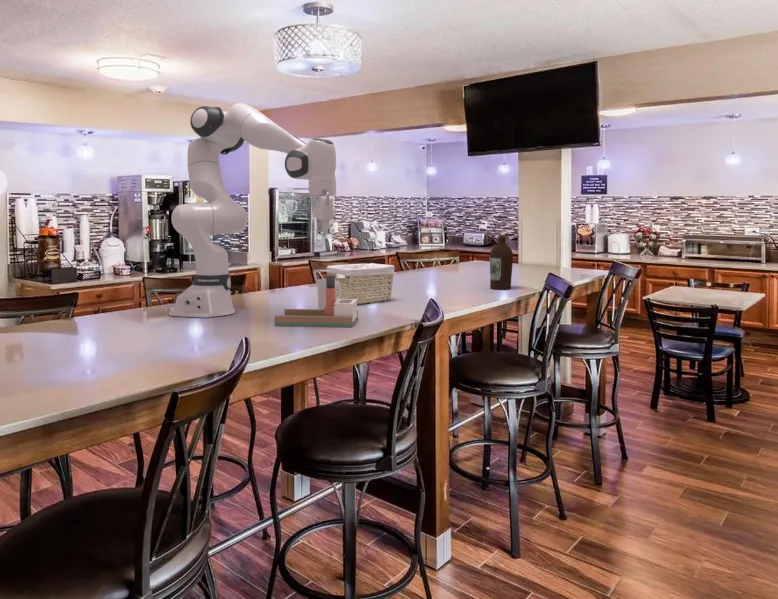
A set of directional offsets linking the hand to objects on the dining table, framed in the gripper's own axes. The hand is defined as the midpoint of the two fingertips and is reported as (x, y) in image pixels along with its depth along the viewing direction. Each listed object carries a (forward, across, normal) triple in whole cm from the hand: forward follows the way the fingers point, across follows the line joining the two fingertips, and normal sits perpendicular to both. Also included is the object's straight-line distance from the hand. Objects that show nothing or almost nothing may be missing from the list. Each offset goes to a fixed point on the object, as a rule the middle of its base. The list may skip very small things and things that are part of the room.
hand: (322, 232), depth 205 cm
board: (+29, -3, +2) cm, 30 cm away
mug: (+30, +15, -6) cm, 34 cm away
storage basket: (+31, +38, -22) cm, 54 cm away
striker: (+28, -4, -2) cm, 28 cm away
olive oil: (+31, +58, -93) cm, 114 cm away
